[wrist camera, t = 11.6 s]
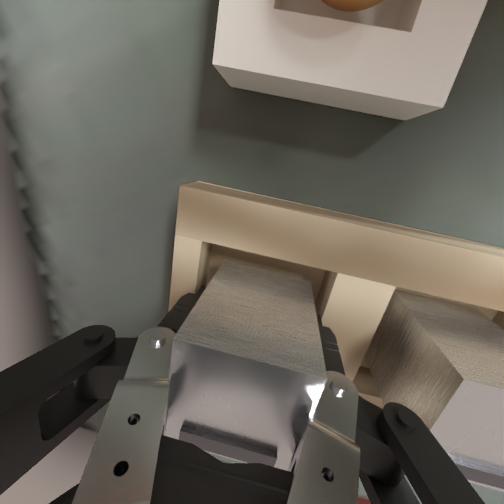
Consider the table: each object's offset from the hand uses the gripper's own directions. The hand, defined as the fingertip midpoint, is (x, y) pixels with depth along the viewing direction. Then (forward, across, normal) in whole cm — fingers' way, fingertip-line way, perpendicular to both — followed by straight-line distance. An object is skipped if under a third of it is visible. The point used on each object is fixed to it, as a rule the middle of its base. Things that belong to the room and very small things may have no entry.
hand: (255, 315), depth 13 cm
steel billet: (+1, 0, 0) cm, 1 cm away
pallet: (+3, -4, 0) cm, 5 cm away
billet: (+2, -9, 0) cm, 9 cm away
